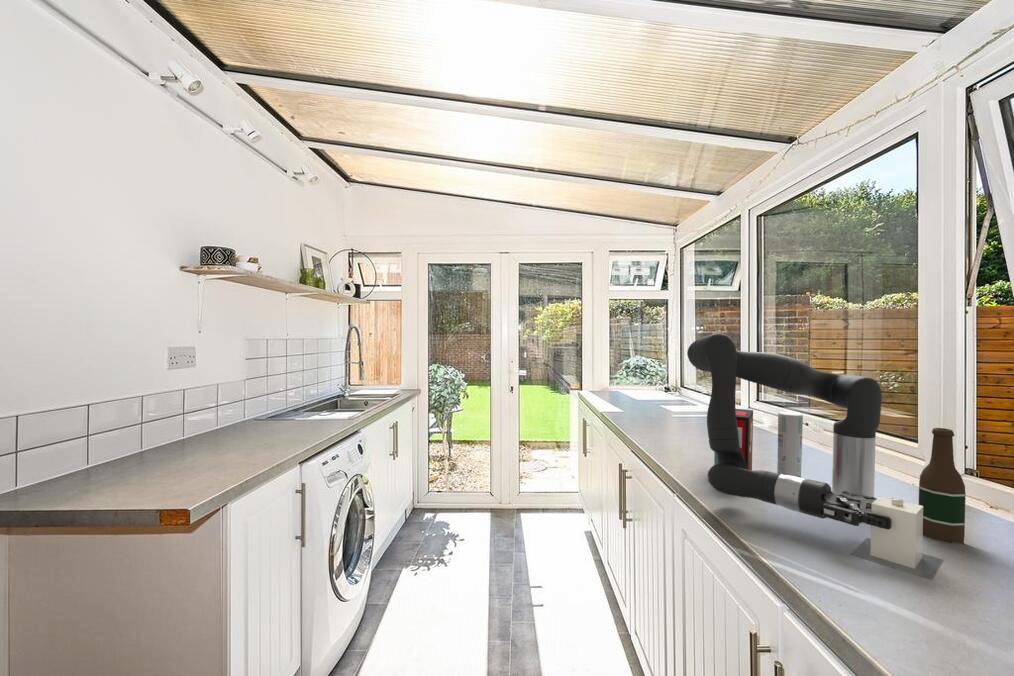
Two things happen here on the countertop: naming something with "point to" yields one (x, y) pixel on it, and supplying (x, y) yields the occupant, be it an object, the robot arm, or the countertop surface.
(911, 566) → the knobbed cream block
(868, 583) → the countertop surface
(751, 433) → the cleaning product box
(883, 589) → the countertop surface
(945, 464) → the beer bottle
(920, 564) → the slate coaster
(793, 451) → the spray can
